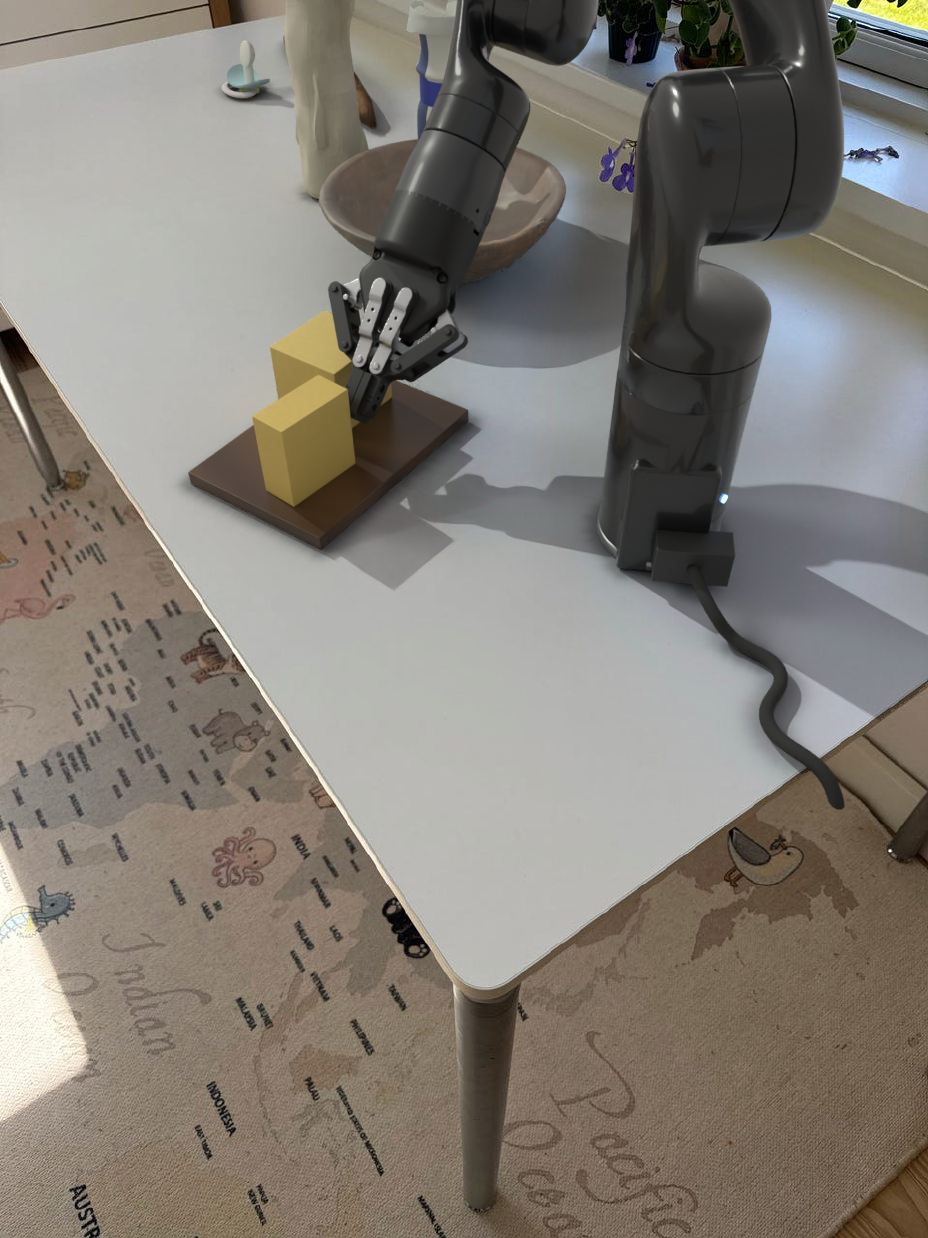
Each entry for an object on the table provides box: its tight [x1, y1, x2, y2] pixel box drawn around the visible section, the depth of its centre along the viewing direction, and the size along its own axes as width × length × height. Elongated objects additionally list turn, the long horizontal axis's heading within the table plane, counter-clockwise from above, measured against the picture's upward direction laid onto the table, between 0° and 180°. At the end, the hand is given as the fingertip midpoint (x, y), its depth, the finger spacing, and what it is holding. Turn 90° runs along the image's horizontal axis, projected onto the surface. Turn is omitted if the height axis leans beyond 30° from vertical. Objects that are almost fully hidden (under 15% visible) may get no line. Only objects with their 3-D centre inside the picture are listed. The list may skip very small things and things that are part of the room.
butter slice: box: [251, 375, 355, 507], centre depth 79 cm, size 7×3×7 cm, turn 141°
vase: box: [283, 0, 370, 200], centre depth 108 cm, size 9×8×30 cm
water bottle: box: [406, 0, 457, 139], centre depth 110 cm, size 8×9×25 cm
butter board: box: [187, 380, 469, 550], centre depth 85 cm, size 20×14×1 cm
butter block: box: [269, 310, 392, 428], centre depth 86 cm, size 7×7×6 cm
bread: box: [282, 35, 377, 129], centre depth 140 cm, size 38×5×5 cm, turn 25°
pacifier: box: [221, 39, 271, 99], centre depth 138 cm, size 7×6×6 cm
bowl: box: [318, 138, 567, 284], centre depth 104 cm, size 25×25×8 cm
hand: (353, 418), depth 80 cm, fingers closed
